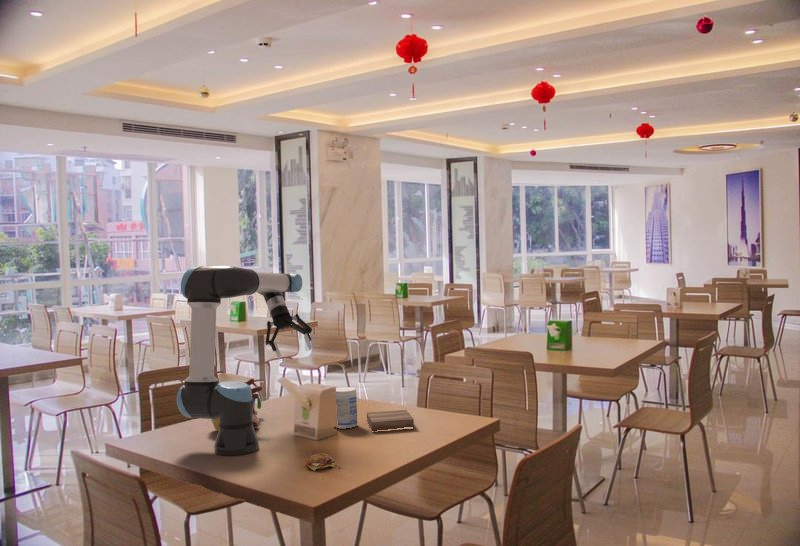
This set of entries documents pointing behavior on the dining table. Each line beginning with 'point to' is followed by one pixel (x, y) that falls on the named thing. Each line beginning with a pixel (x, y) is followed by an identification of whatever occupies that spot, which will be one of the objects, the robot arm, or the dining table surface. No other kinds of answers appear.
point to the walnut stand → (389, 420)
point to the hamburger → (320, 462)
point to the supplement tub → (346, 407)
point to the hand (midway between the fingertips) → (295, 352)
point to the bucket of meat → (255, 396)
